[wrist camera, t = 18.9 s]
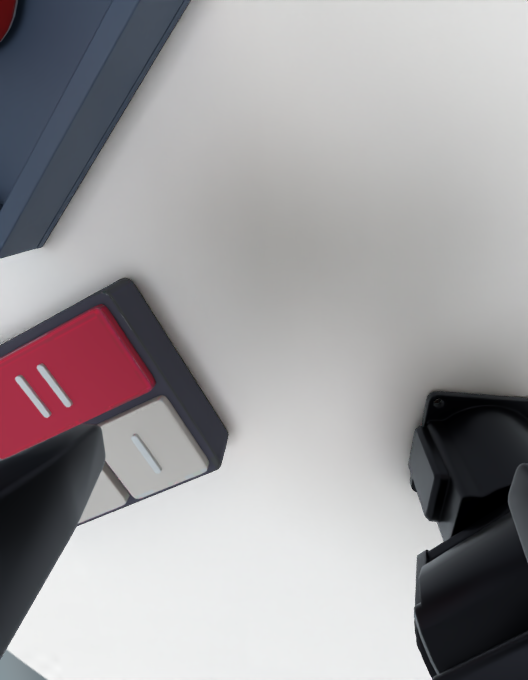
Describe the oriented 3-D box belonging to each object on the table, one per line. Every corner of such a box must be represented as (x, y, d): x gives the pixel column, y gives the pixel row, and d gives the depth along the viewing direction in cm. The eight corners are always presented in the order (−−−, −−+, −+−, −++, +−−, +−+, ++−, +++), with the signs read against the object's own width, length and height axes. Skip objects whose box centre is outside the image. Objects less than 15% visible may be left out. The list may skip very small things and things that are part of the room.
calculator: (222, 477, 21) (4, 564, 25) (233, 431, 25) (44, 510, 29) (98, 291, 18) (-134, 419, 21) (133, 271, 22) (-66, 381, 25)
